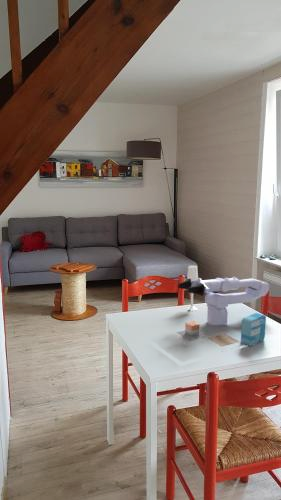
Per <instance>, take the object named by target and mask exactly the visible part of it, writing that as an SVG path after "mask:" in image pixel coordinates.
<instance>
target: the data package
mask: <svg viewBox="0 0 281 500" xmlns="http://www.w3.org/2000/svg"><path fill="white" fill-rule="evenodd" d="M266 322H267V316H266V315H265V314H261V313H257V312H254V313H252V314H249V315H247V316H245V317H243V318H242V319H241V328H240V329H241V332H240V342H241V343H244V345H245V346H248V347H253V346H254V345H256V344H259V343H261V342H263V341H265V337H266V336H265V335H266V324H267V323H266Z"/></svg>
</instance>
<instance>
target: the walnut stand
mask: <svg viewBox="0 0 281 500" xmlns="http://www.w3.org/2000/svg"><path fill="white" fill-rule="evenodd" d="M207 339H208V340H210V341H212V342H214V343H215V344H217V345H219V346H221V347H225V346H228V345H232V344H236V343H239V342H241V340H240V341H239V340H238V339H236V338H234V337H232V336H230V335H227V334H226V333H222V334H217V335H213V336H211V337H207Z"/></svg>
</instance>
